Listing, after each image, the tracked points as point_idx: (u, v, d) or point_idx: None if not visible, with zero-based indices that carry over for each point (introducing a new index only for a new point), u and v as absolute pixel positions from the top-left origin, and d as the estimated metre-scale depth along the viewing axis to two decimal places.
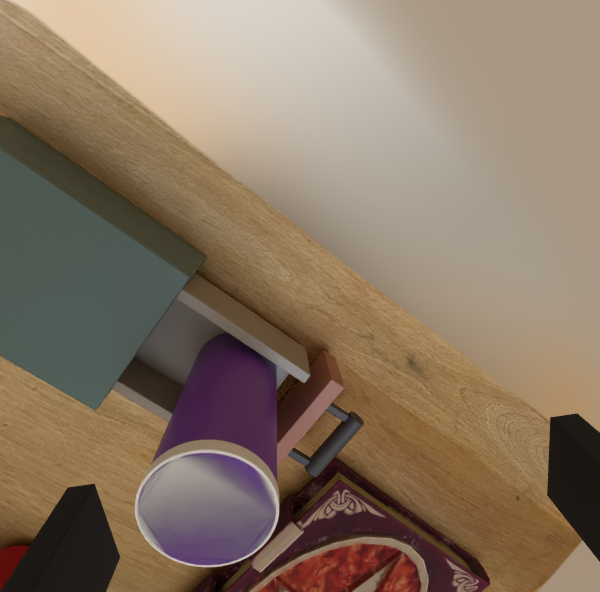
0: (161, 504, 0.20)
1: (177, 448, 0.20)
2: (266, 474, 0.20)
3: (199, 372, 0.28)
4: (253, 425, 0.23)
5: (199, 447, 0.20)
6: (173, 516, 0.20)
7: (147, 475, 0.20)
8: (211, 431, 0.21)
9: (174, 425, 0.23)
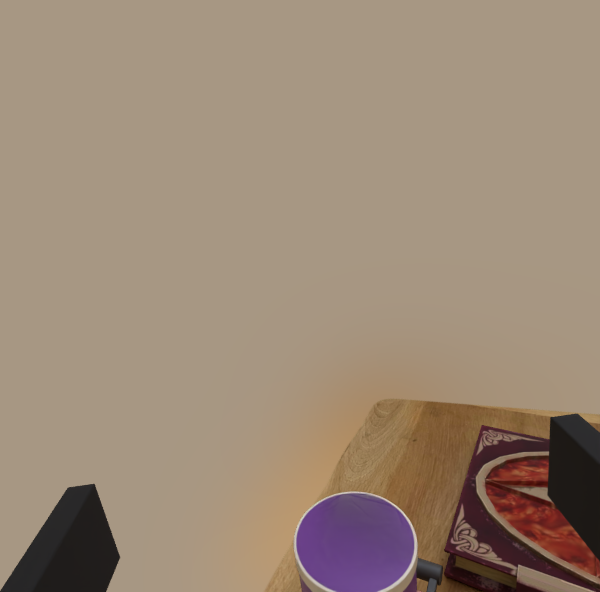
0: (358, 574, 0.22)
1: (305, 580, 0.22)
2: (311, 508, 0.26)
3: None
4: None
5: (296, 558, 0.23)
6: (367, 562, 0.22)
7: (329, 591, 0.21)
8: None
9: None
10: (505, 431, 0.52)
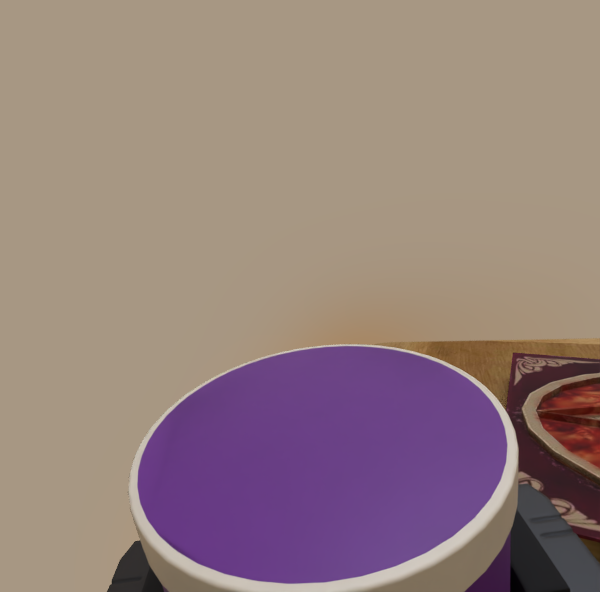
0: (324, 510, 0.06)
1: None
2: (212, 382, 0.10)
3: None
4: None
5: None
6: (356, 473, 0.07)
7: (208, 579, 0.05)
8: None
9: None
10: (548, 356, 0.37)
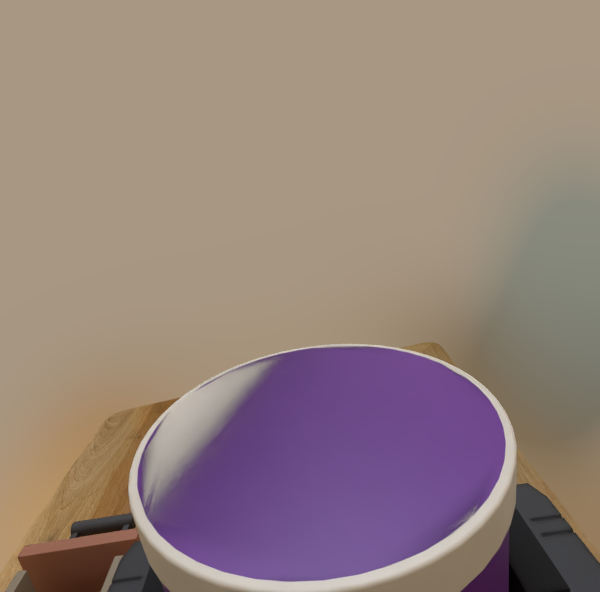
0: (323, 508, 0.06)
1: None
2: (212, 382, 0.10)
3: None
4: None
5: None
6: (355, 471, 0.07)
7: (208, 577, 0.05)
8: None
9: None
10: None
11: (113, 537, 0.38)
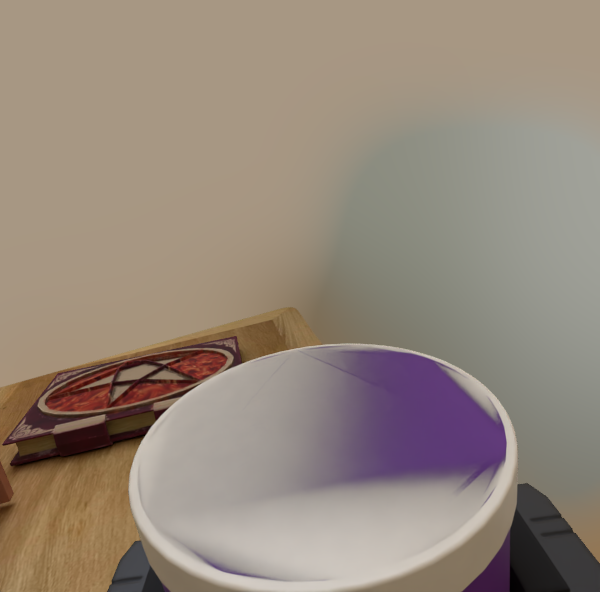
0: (324, 508, 0.06)
1: None
2: (212, 381, 0.10)
3: None
4: None
5: None
6: (355, 472, 0.07)
7: (208, 577, 0.05)
8: None
9: None
10: (75, 370, 0.68)
11: None
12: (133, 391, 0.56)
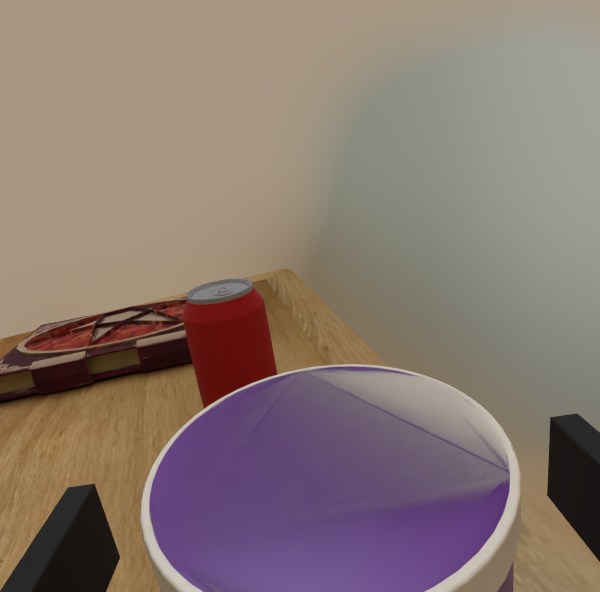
0: (333, 541, 0.06)
1: None
2: (219, 403, 0.11)
3: None
4: None
5: None
6: (362, 502, 0.07)
7: None
8: None
9: None
10: None
11: None
12: (116, 332, 0.53)
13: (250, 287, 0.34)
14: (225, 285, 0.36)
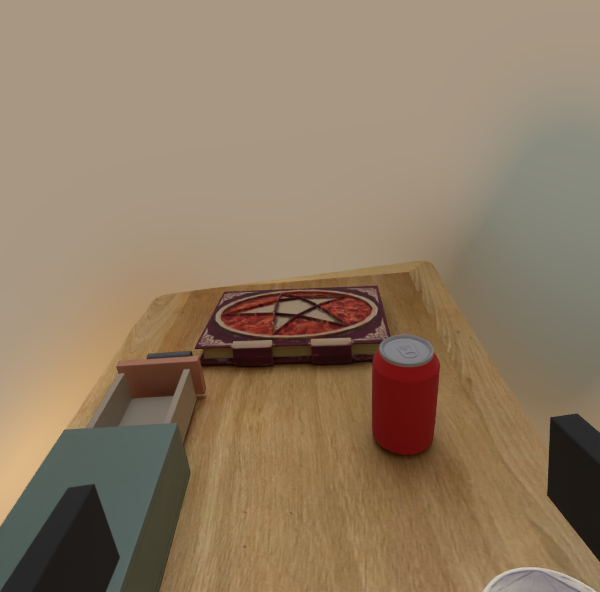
0: None
1: None
2: (492, 580, 0.20)
3: None
4: None
5: None
6: None
7: None
8: None
9: None
10: (237, 291, 0.80)
11: (181, 359, 0.55)
12: (292, 324, 0.66)
13: (432, 354, 0.43)
14: (408, 342, 0.45)
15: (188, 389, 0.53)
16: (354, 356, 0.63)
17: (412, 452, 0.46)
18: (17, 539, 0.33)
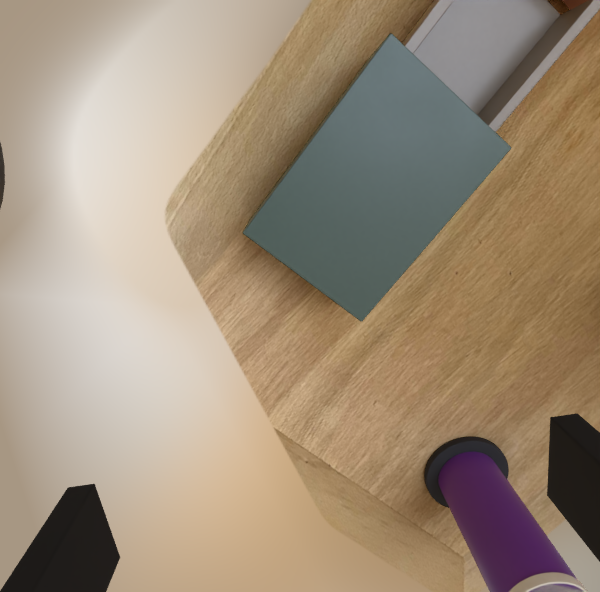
0: None
1: None
2: (561, 580, 0.32)
3: (460, 517, 0.41)
4: (526, 547, 0.35)
5: None
6: None
7: None
8: (512, 575, 0.33)
9: (487, 575, 0.36)
10: None
11: None
12: None
13: None
14: None
15: None
16: None
17: None
18: (304, 198, 0.31)
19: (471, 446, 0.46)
